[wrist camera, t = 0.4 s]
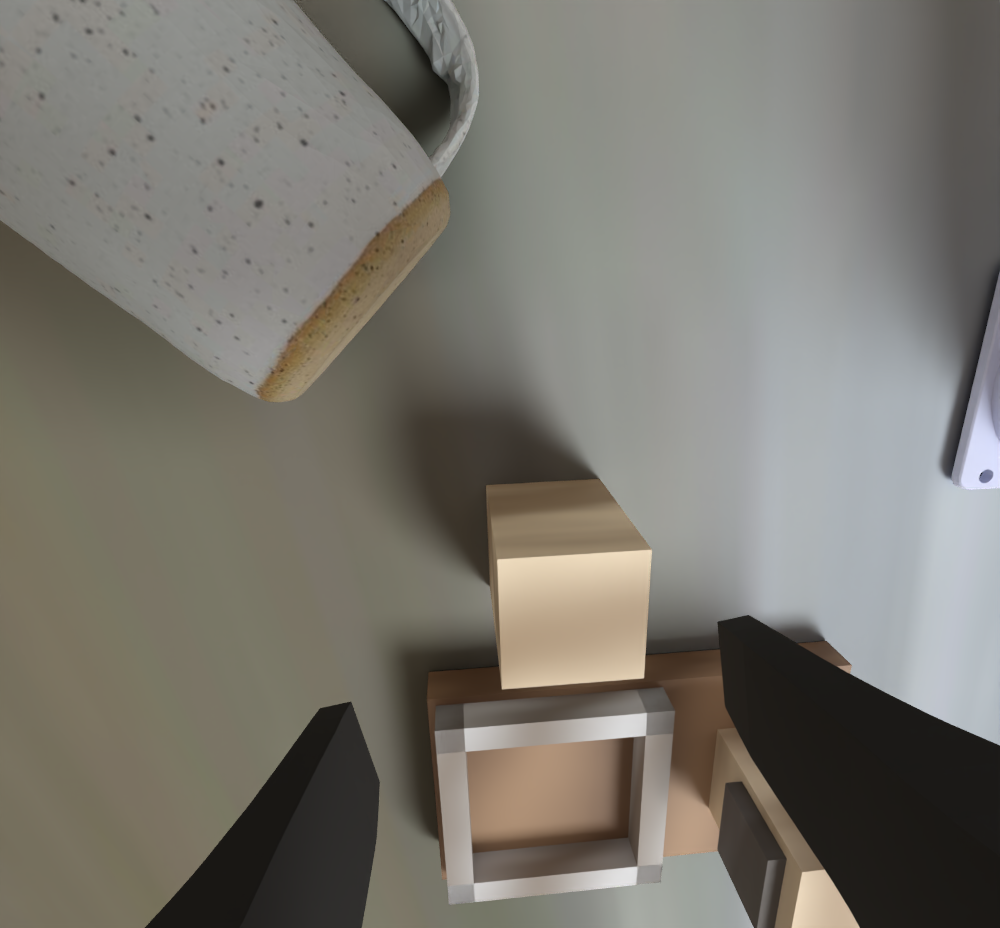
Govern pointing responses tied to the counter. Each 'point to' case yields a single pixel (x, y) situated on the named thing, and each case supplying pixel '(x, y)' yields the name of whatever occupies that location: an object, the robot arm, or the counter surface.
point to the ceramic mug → (223, 171)
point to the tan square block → (566, 584)
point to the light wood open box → (613, 790)
